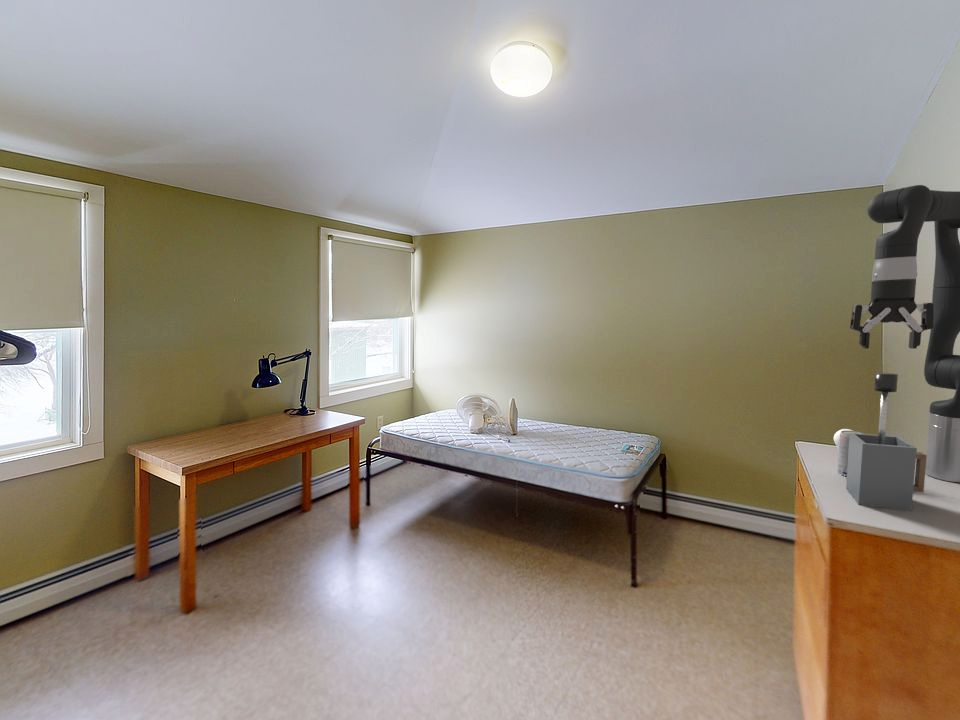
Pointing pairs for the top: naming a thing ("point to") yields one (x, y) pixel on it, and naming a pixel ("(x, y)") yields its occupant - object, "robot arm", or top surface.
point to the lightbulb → (837, 436)
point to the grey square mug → (884, 471)
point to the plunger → (884, 398)
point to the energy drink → (844, 451)
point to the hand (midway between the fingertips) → (888, 348)
